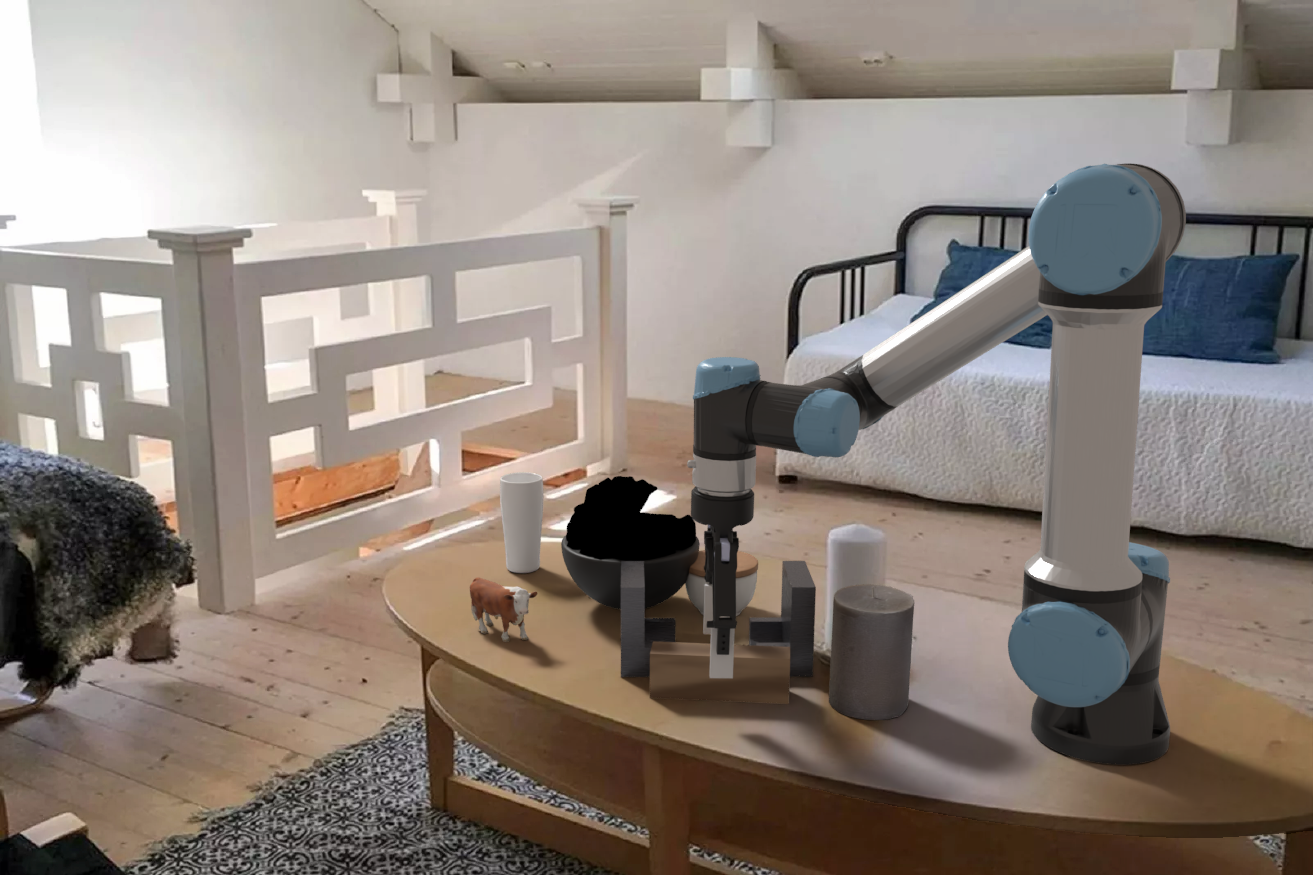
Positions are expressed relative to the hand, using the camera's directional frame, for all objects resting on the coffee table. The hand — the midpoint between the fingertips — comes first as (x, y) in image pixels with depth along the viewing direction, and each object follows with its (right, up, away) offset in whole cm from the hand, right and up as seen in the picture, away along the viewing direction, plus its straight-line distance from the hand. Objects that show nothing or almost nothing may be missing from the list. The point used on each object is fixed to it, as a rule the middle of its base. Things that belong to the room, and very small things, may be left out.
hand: (717, 654), depth 162 cm
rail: (0, -5, +1) cm, 5 cm away
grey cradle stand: (0, -3, +11) cm, 11 cm away
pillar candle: (+18, -6, -2) cm, 19 cm away
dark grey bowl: (-11, +2, +31) cm, 33 cm away
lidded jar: (+2, +1, +29) cm, 29 cm away
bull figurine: (-28, -1, +19) cm, 34 cm away
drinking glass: (-29, +6, +47) cm, 55 cm away
